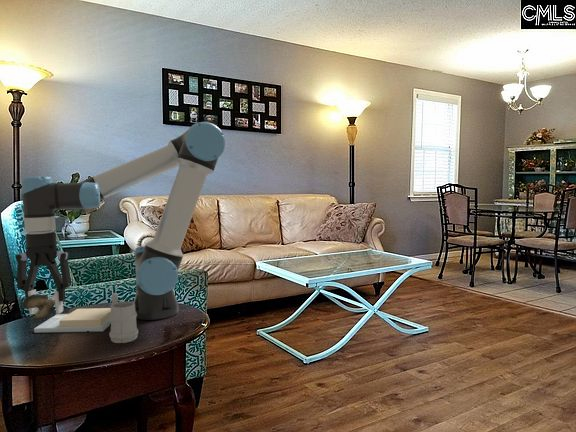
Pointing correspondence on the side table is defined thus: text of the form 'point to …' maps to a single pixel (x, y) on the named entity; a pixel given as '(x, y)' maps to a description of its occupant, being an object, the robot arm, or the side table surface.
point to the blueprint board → (82, 329)
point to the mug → (122, 321)
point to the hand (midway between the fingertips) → (46, 312)
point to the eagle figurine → (42, 303)
